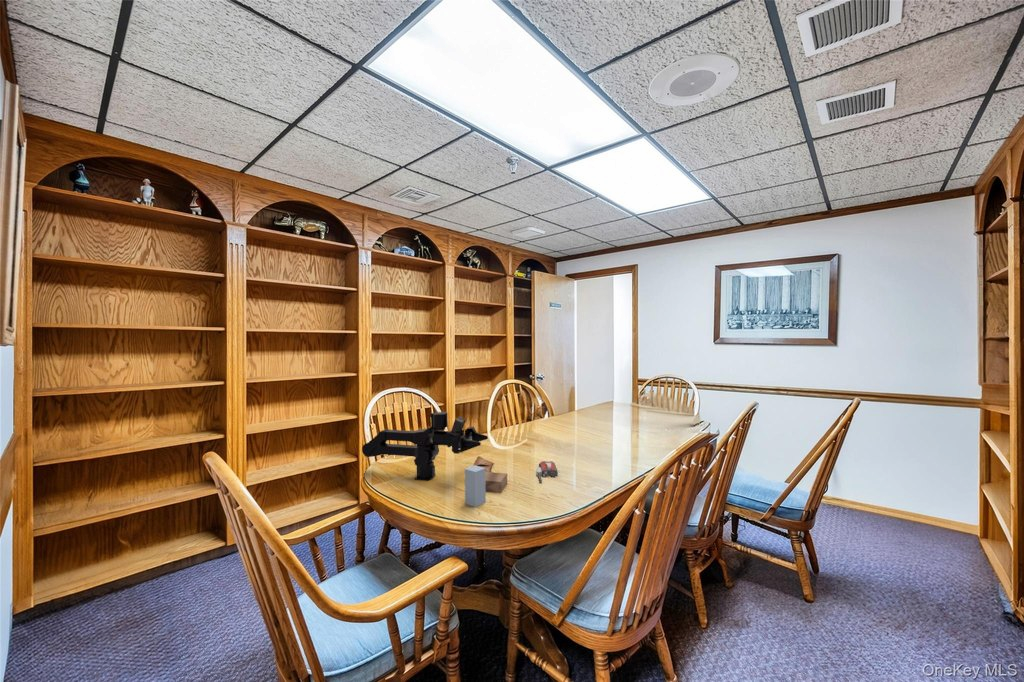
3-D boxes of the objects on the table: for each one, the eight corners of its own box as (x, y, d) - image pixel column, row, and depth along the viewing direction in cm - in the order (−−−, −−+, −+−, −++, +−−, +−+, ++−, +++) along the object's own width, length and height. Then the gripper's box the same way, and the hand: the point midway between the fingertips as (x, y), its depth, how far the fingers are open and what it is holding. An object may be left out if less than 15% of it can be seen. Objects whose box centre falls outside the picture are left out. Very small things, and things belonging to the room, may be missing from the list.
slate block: (465, 503, 137) (464, 468, 136) (475, 498, 141) (474, 465, 140) (475, 507, 134) (475, 472, 133) (485, 502, 137) (485, 468, 137)
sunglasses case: (491, 476, 162) (482, 462, 162) (476, 485, 162) (468, 471, 162) (494, 462, 180) (486, 450, 180) (481, 470, 180) (473, 458, 180)
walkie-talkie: (534, 467, 174) (537, 484, 154) (534, 457, 174) (537, 473, 154) (554, 467, 175) (560, 484, 155) (554, 457, 174) (560, 473, 154)
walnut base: (478, 490, 148) (478, 479, 148) (485, 481, 157) (485, 471, 157) (501, 492, 146) (501, 481, 146) (507, 483, 154) (507, 473, 154)
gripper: (437, 423, 150) (476, 425, 147) (455, 413, 168) (490, 415, 165) (437, 452, 150) (476, 455, 147) (455, 440, 169) (491, 442, 165)
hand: (484, 440), depth 156 cm, fingers open, 9 cm apart
